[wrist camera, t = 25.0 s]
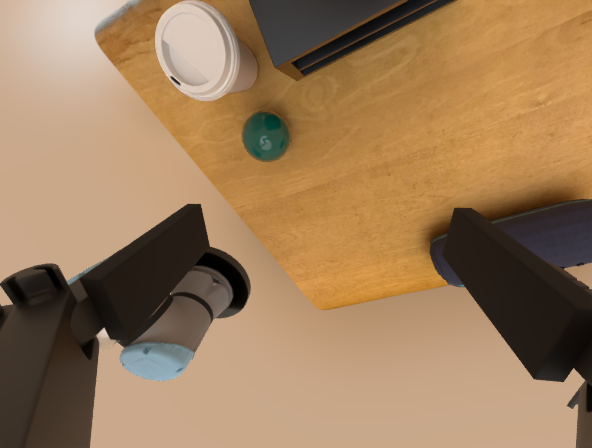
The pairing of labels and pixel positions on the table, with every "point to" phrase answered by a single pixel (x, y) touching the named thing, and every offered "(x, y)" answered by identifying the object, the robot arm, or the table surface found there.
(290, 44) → the rack
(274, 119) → the sphere
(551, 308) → the robot arm
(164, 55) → the coffee cup
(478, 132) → the table surface
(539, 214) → the portable speaker
